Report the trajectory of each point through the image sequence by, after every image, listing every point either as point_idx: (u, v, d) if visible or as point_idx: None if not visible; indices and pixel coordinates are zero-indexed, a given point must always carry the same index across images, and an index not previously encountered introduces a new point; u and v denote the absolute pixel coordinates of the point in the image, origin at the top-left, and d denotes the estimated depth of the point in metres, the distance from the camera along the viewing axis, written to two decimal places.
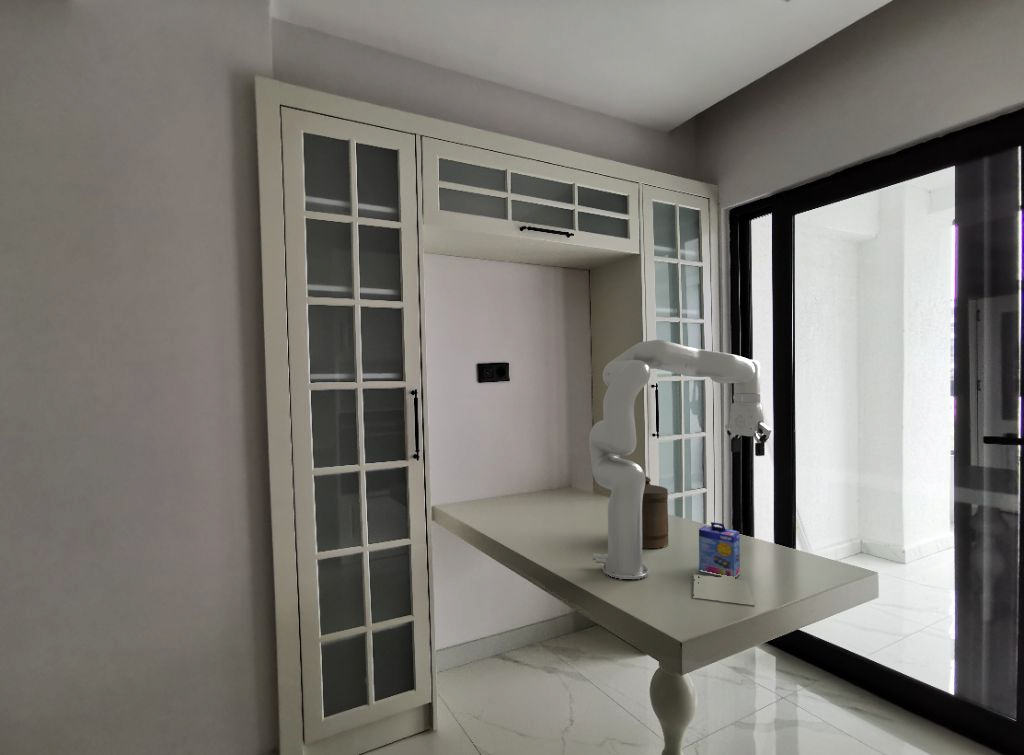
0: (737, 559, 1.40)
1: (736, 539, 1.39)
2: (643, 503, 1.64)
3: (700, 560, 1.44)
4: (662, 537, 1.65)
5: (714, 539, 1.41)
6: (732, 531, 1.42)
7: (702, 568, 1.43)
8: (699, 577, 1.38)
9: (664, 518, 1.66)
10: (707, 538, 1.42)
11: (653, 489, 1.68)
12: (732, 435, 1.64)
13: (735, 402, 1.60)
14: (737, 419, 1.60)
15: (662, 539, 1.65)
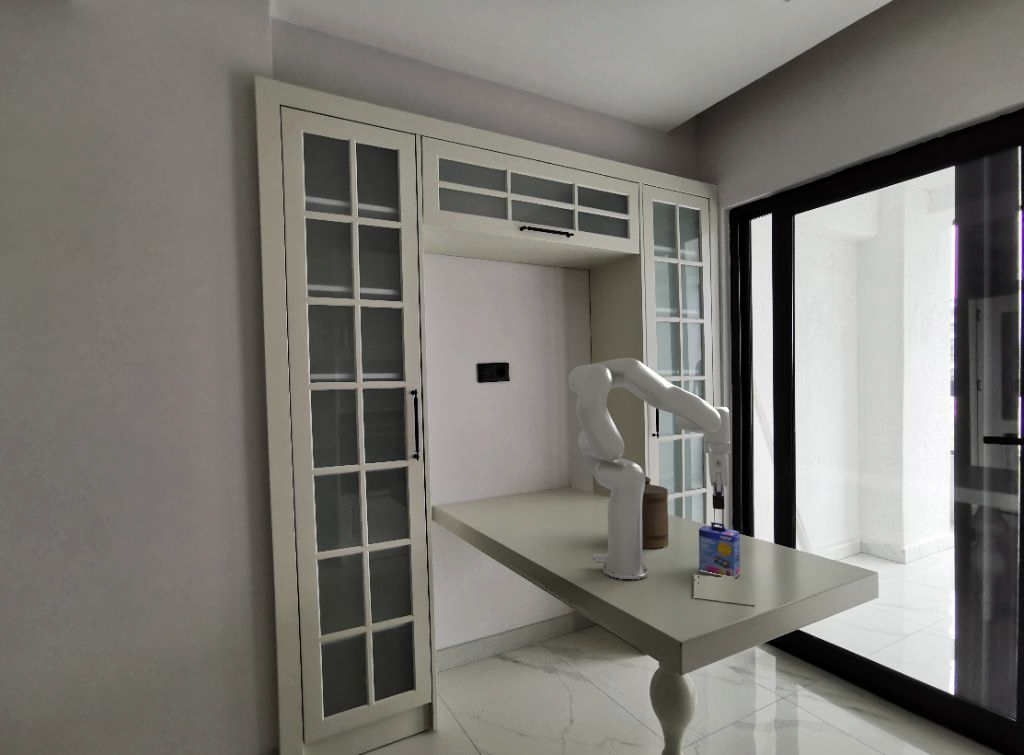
0: (737, 559, 1.40)
1: (736, 539, 1.39)
2: (643, 503, 1.64)
3: (700, 560, 1.44)
4: (662, 537, 1.65)
5: (714, 539, 1.41)
6: (732, 531, 1.42)
7: (702, 568, 1.43)
8: (699, 577, 1.38)
9: (664, 518, 1.66)
10: (707, 538, 1.42)
11: (653, 489, 1.68)
12: None
13: (729, 451, 1.51)
14: None
15: (662, 539, 1.65)
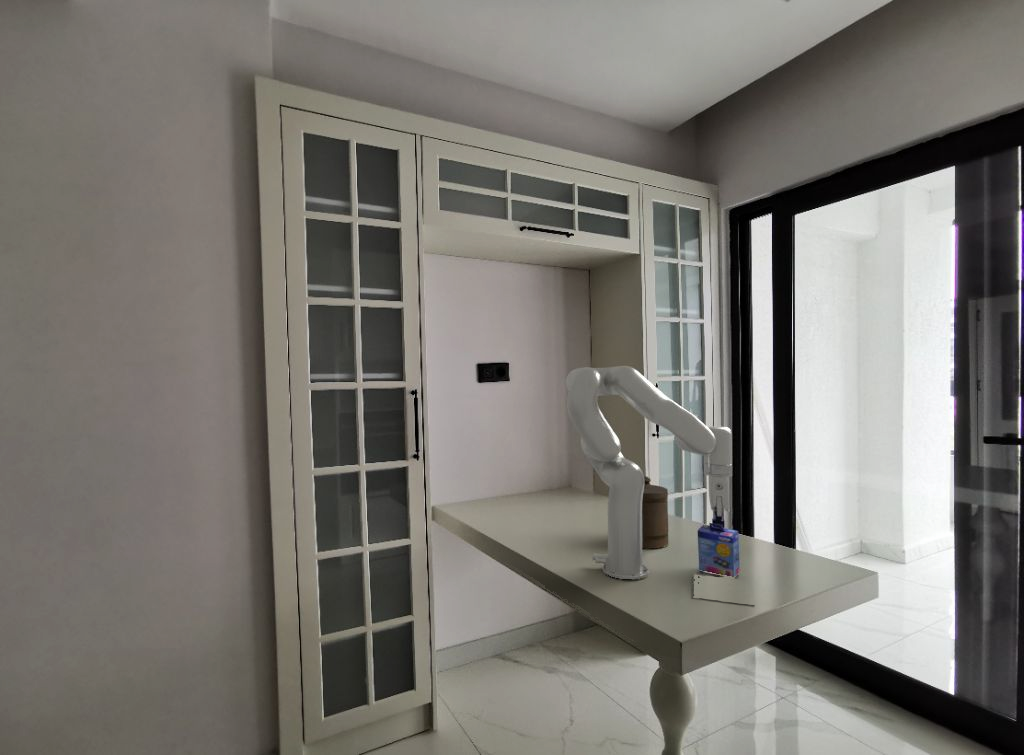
0: (736, 558, 1.39)
1: (735, 539, 1.38)
2: (643, 503, 1.64)
3: (700, 560, 1.43)
4: (662, 537, 1.65)
5: (713, 540, 1.40)
6: (731, 531, 1.41)
7: (702, 568, 1.43)
8: (699, 577, 1.38)
9: (664, 518, 1.66)
10: (706, 539, 1.42)
11: (653, 489, 1.68)
12: (723, 515, 1.45)
13: (731, 474, 1.44)
14: None
15: (662, 539, 1.65)
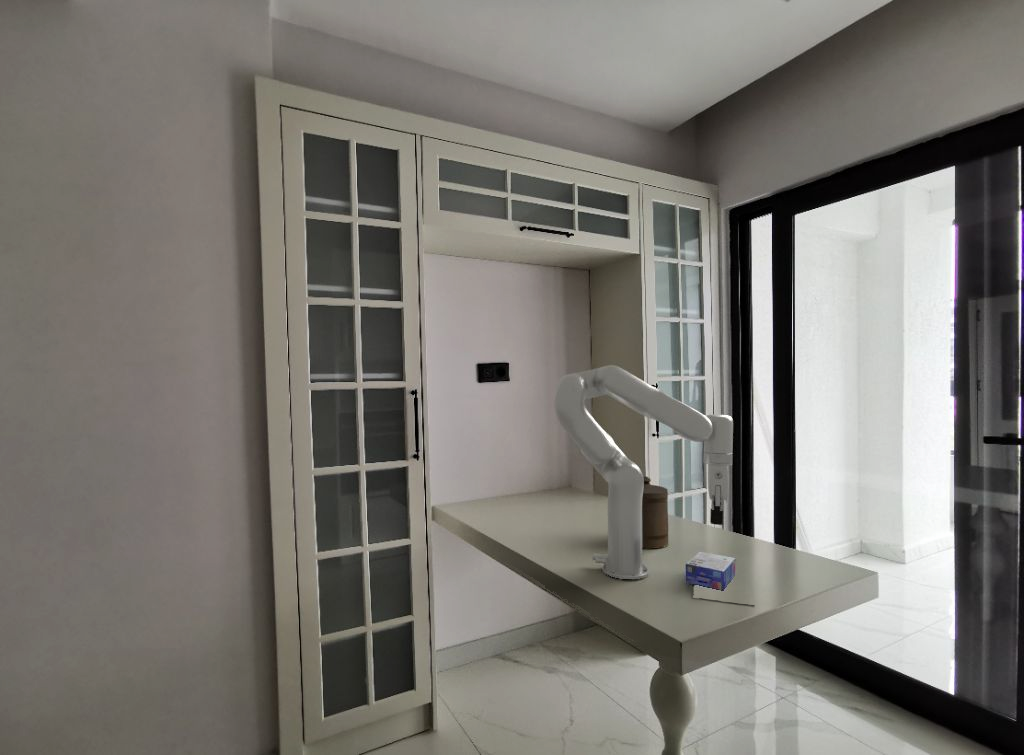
0: (730, 572, 1.34)
1: (725, 583, 1.30)
2: (643, 503, 1.64)
3: None
4: (662, 537, 1.65)
5: None
6: (717, 575, 1.29)
7: None
8: None
9: (664, 518, 1.66)
10: None
11: (653, 489, 1.68)
12: None
13: (731, 463, 1.41)
14: None
15: (662, 539, 1.65)
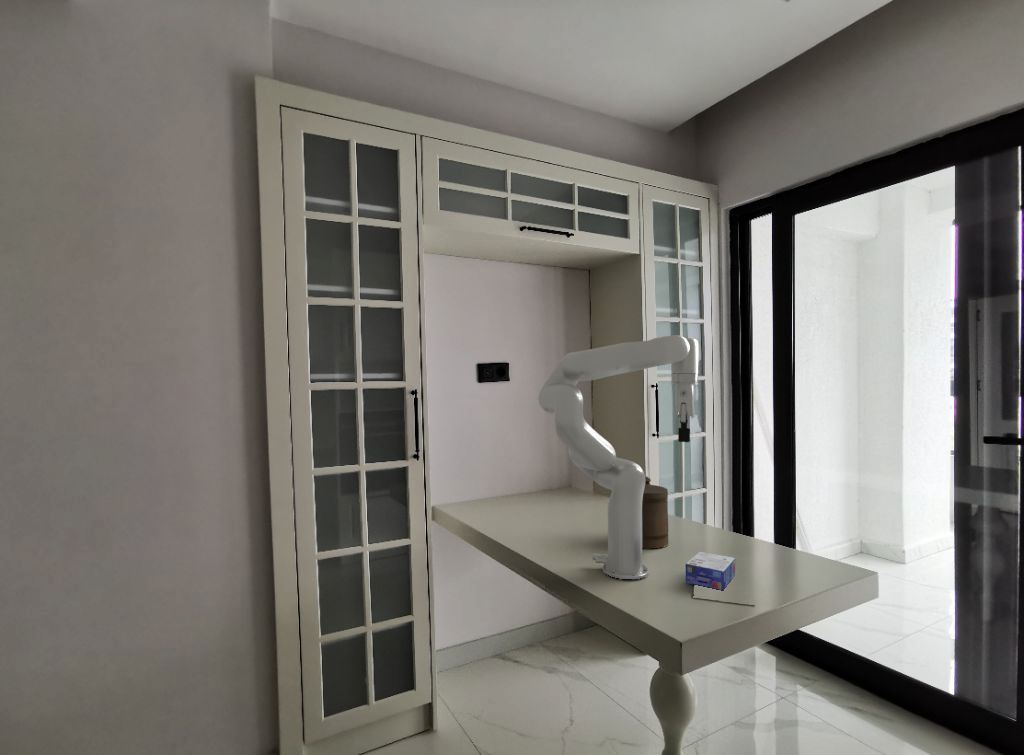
0: (730, 572, 1.34)
1: (725, 583, 1.30)
2: (643, 503, 1.64)
3: None
4: (662, 537, 1.65)
5: None
6: (717, 575, 1.29)
7: None
8: None
9: (664, 518, 1.66)
10: None
11: (653, 489, 1.68)
12: (688, 422, 1.50)
13: (696, 383, 1.49)
14: (694, 401, 1.49)
15: (662, 539, 1.65)
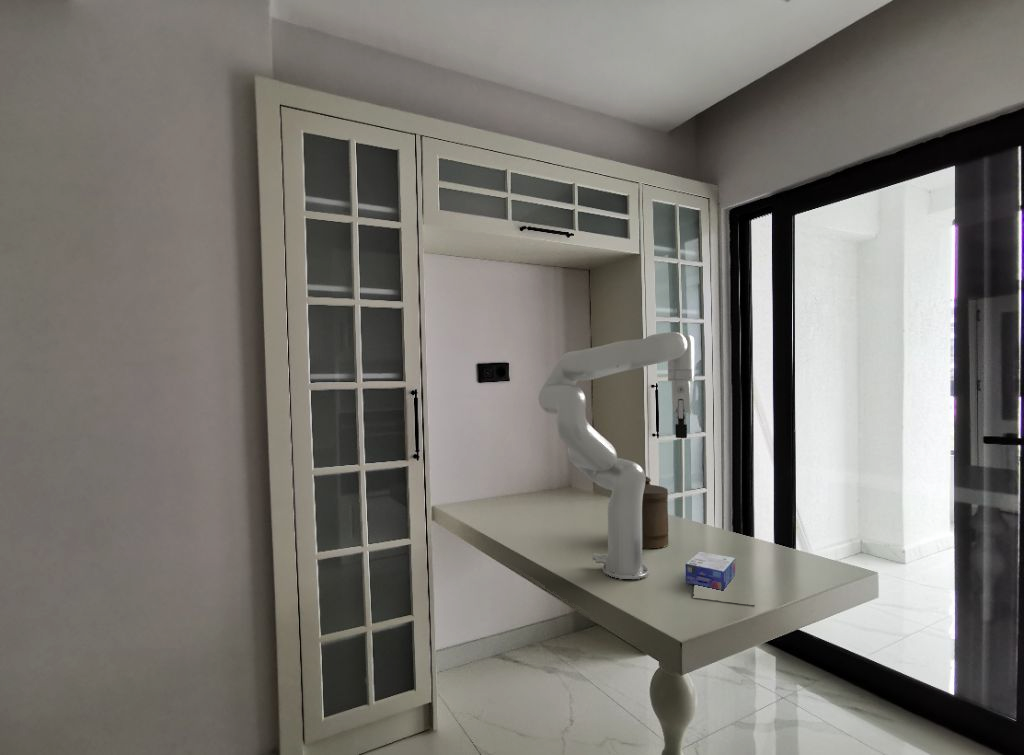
0: (730, 572, 1.34)
1: (725, 583, 1.30)
2: (643, 503, 1.64)
3: None
4: (662, 537, 1.65)
5: None
6: (717, 575, 1.29)
7: None
8: None
9: (664, 518, 1.66)
10: None
11: (653, 489, 1.68)
12: (685, 419, 1.51)
13: (693, 379, 1.50)
14: None
15: (662, 539, 1.65)
